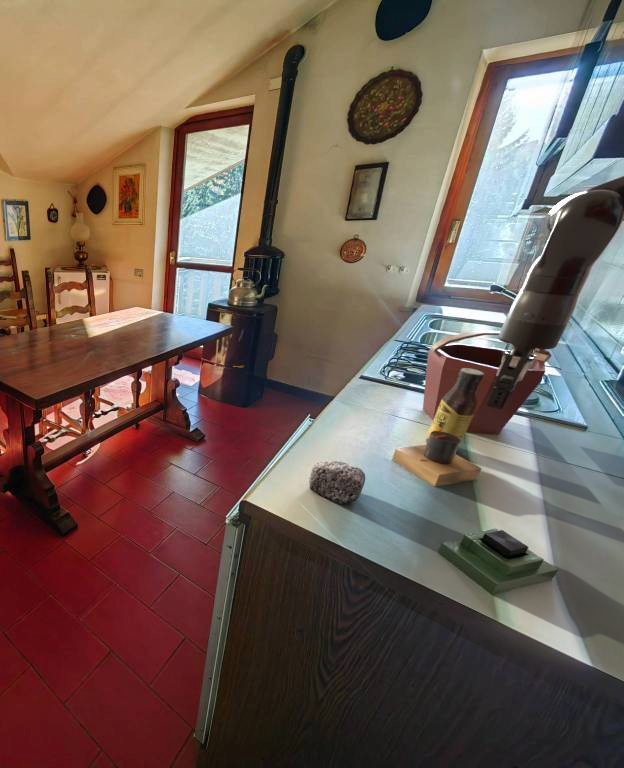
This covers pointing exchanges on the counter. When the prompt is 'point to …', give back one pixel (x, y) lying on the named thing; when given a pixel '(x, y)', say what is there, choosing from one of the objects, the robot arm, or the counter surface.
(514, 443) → the counter surface
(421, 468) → the flat wooden block
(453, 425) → the sauce bottle
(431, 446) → the dark grey short cylinder
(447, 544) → the block
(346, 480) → the pumice stone
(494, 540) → the plate
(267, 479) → the counter surface
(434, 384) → the bucket
